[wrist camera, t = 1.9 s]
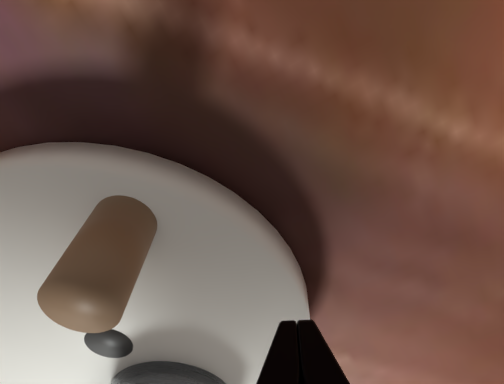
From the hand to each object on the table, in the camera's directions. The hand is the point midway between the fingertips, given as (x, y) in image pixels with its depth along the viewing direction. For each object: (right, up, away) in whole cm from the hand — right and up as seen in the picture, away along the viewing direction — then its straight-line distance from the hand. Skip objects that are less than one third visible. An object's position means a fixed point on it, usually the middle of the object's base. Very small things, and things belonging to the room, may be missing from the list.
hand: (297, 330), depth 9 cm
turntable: (-8, -3, +11) cm, 14 cm away
